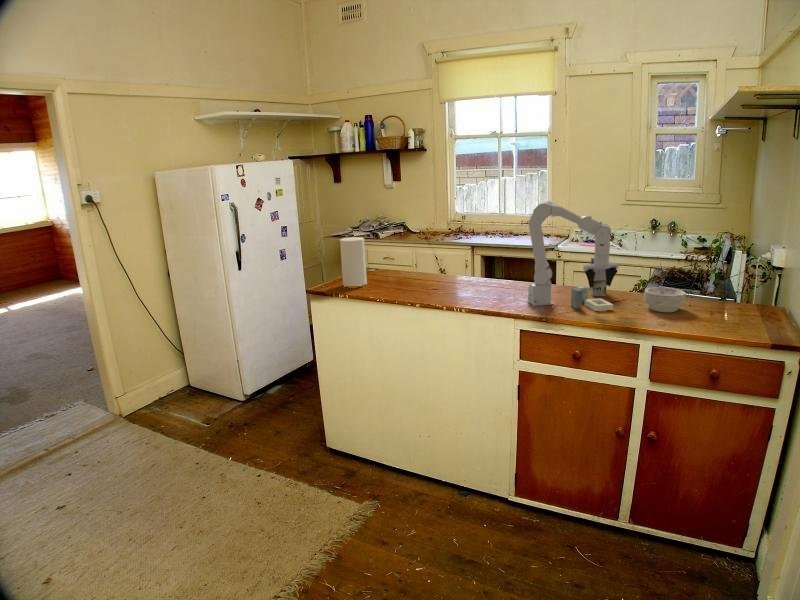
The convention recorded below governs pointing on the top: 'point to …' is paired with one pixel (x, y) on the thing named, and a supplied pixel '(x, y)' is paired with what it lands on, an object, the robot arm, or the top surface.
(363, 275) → the cylinder
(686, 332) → the top surface
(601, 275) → the coffee box
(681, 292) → the light grey bowl
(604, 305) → the slot plate
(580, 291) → the bar
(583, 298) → the grey upright block
